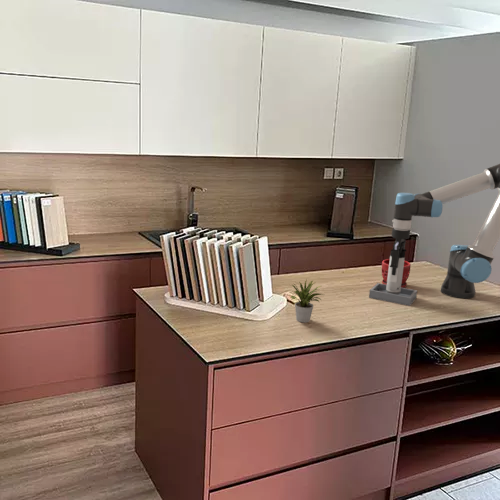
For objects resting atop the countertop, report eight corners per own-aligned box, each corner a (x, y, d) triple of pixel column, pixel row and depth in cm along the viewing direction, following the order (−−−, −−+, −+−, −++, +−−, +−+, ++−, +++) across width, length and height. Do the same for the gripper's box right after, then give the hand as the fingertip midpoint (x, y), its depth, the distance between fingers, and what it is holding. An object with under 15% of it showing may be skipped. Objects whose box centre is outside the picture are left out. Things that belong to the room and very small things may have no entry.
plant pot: (379, 280, 275) (382, 257, 272) (406, 283, 272) (409, 260, 270) (379, 288, 263) (382, 264, 260) (408, 291, 260) (411, 267, 257)
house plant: (292, 329, 207) (296, 287, 203) (276, 316, 219) (279, 276, 215) (326, 325, 213) (330, 284, 209) (308, 312, 225) (311, 273, 221)
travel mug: (401, 295, 246) (407, 251, 241) (386, 293, 247) (391, 249, 242) (400, 291, 252) (406, 248, 247) (385, 289, 253) (390, 246, 248)
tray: (416, 297, 252) (417, 290, 251) (409, 305, 241) (410, 298, 240) (376, 290, 260) (377, 283, 259) (368, 297, 248) (369, 290, 248)
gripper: (397, 224, 252) (391, 273, 258) (387, 231, 236) (381, 283, 242) (414, 226, 249) (408, 276, 255) (405, 233, 233) (398, 286, 238)
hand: (395, 279), depth 248 cm, fingers closed on travel mug, 6 cm apart
